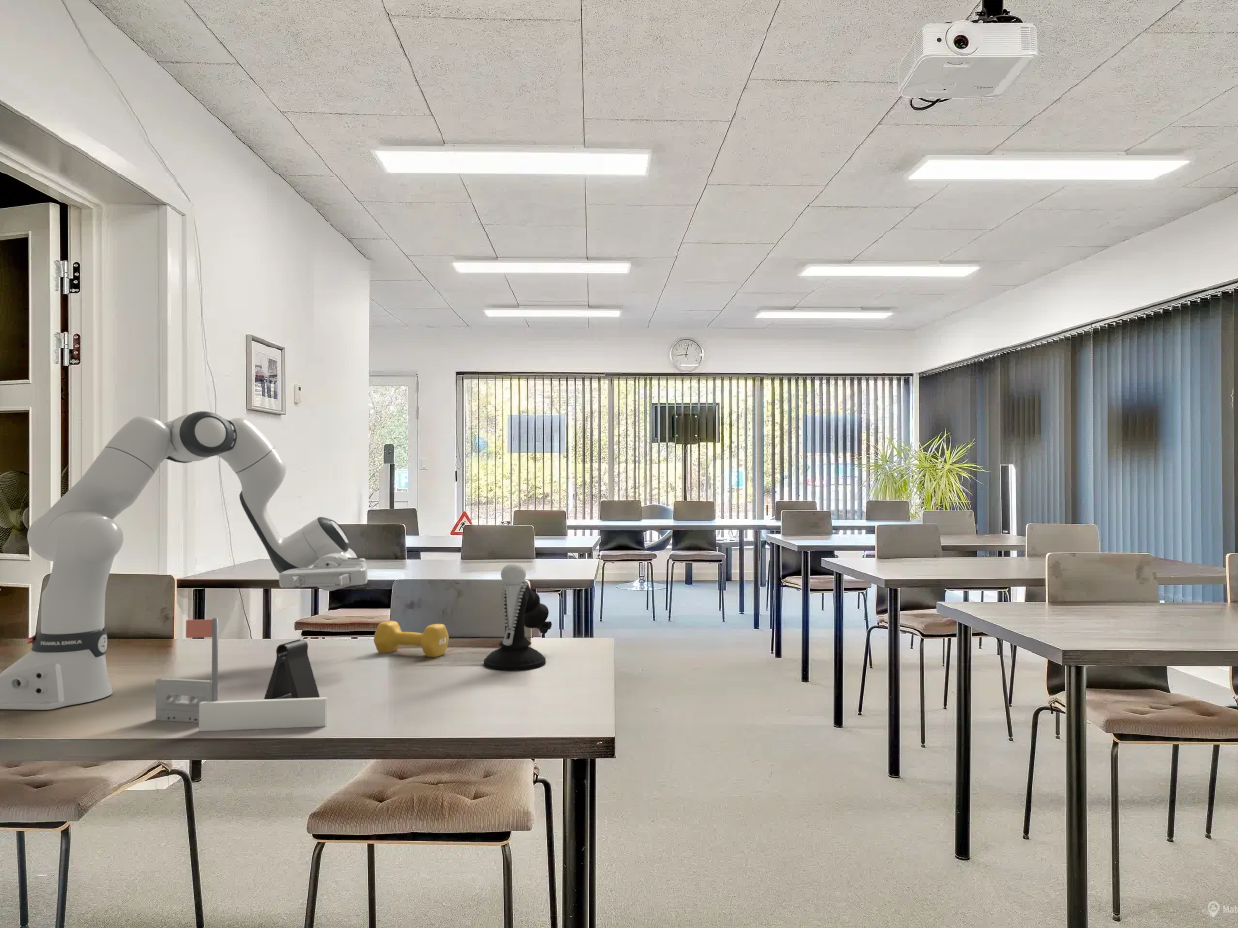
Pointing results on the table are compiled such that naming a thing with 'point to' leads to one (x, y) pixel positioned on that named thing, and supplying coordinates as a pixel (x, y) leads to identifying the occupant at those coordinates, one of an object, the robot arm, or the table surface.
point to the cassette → (170, 698)
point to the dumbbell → (411, 638)
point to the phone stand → (292, 673)
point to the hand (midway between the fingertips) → (316, 582)
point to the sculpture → (519, 623)
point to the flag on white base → (251, 711)
